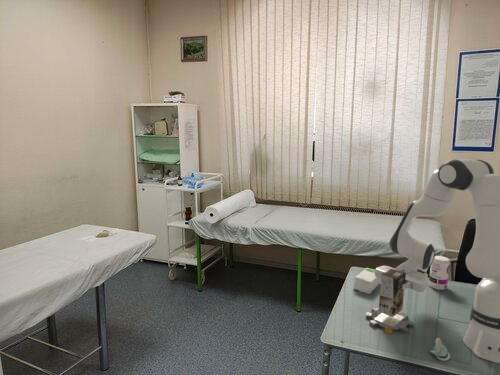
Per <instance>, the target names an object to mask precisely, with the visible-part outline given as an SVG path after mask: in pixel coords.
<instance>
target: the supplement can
mask: <svg viewBox="0 0 500 375" xmlns="http://www.w3.org/2000/svg"><path fill="white" fill-rule="evenodd" d="M450 267H451V261H450V259H449V258H448V257H446V256H444V255H435V258H434V260H433V263H432V264H431V266H430V267H429V268H430V269H429V275H428V278H429V279H428V286H429V287H430V288H432V289H434V290H438V291H439V290H440V291H444V290H446V289H447V288H448V282H449V275H450Z"/></svg>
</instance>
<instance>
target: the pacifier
mask: <svg viewBox="0 0 500 375" xmlns="http://www.w3.org/2000/svg"><path fill="white" fill-rule="evenodd" d="M434 341H435V342H434V343H435V345H434V346H433V349H430V350H429V352H430V353H431V354H433V355H434V357H436V358H437V359H438V360H439V361H449V360H450V359H451V354H450V353H449V352H448V348H447V347H446V346H445V345H444V344H442V340H441V338H440V337H437V338H436V339H435V340H434Z"/></svg>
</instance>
